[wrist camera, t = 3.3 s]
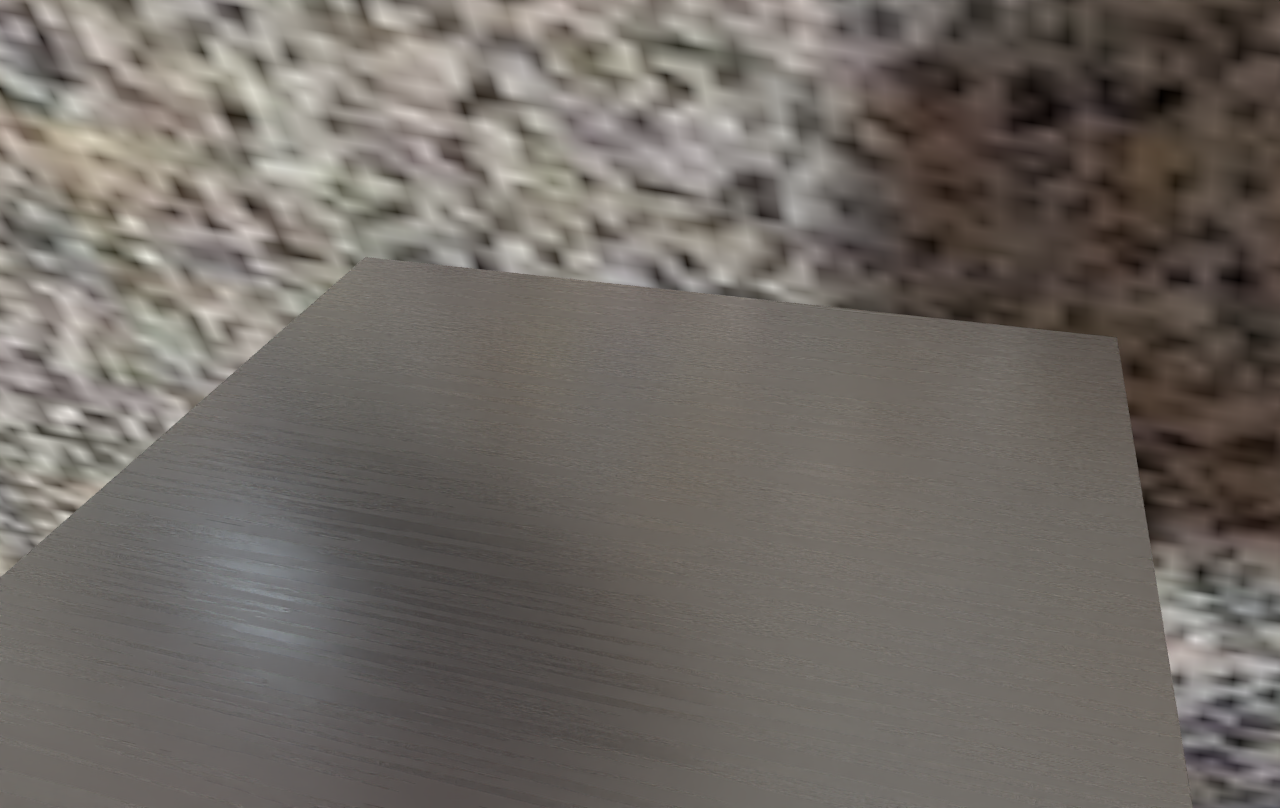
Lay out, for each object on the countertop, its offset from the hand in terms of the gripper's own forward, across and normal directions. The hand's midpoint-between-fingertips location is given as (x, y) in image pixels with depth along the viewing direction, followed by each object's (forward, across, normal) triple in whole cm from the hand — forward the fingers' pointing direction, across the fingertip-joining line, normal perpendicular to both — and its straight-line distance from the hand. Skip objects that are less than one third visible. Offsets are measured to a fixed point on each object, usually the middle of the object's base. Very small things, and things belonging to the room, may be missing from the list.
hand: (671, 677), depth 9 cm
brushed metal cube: (+1, 0, 0) cm, 1 cm away
